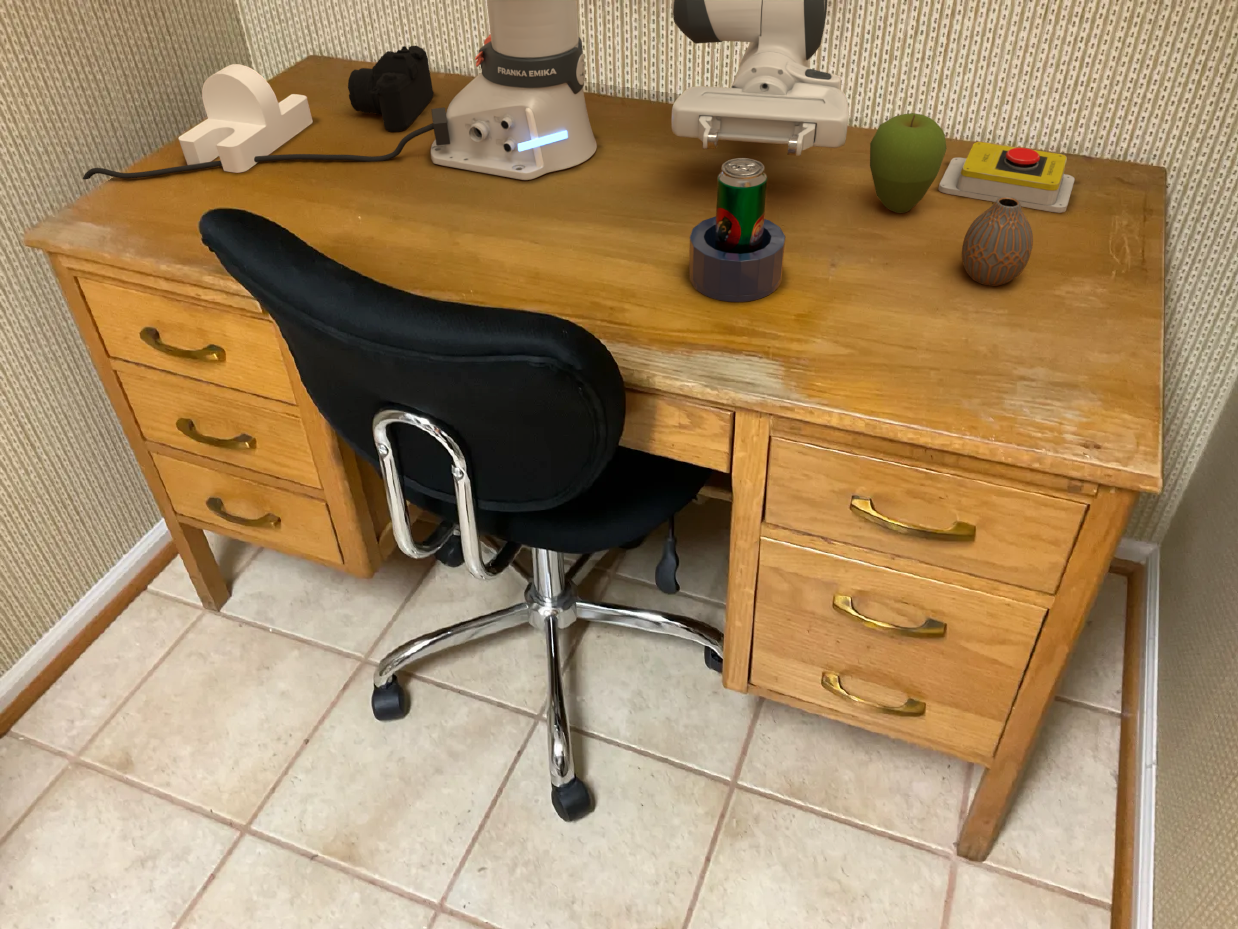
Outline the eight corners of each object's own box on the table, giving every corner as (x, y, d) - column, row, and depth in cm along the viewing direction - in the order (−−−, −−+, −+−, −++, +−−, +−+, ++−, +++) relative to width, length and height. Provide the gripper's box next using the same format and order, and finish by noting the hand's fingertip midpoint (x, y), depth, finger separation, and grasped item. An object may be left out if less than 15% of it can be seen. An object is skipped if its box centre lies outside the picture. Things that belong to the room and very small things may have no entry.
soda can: (758, 284, 104) (765, 179, 96) (711, 280, 105) (715, 176, 97) (762, 260, 108) (770, 157, 100) (716, 257, 108) (721, 154, 100)
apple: (871, 187, 122) (885, 95, 114) (940, 198, 119) (959, 105, 111) (853, 218, 116) (866, 123, 108) (924, 231, 113) (943, 135, 105)
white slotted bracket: (315, 120, 142) (298, 48, 136) (242, 173, 130) (219, 97, 123) (260, 113, 145) (240, 42, 138) (183, 164, 132) (157, 90, 126)
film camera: (381, 90, 150) (369, 30, 144) (441, 93, 148) (431, 32, 142) (342, 131, 139) (327, 67, 133) (405, 135, 137) (393, 70, 131)
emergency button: (1075, 179, 112) (943, 157, 117) (1064, 213, 115) (936, 191, 120) (1084, 146, 118) (959, 128, 123) (1074, 180, 121) (952, 160, 126)
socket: (682, 297, 104) (682, 256, 101) (697, 250, 111) (698, 210, 108) (775, 306, 102) (779, 264, 99) (785, 258, 109) (789, 217, 106)
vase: (947, 262, 108) (963, 188, 102) (1008, 257, 108) (1028, 184, 102) (969, 295, 103) (987, 220, 97) (1033, 290, 103) (1055, 215, 97)
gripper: (682, 65, 117) (659, 111, 107) (854, 76, 113) (847, 124, 103) (681, 117, 121) (659, 165, 111) (847, 128, 118) (840, 179, 108)
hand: (751, 145), depth 107 cm, fingers open, 8 cm apart
